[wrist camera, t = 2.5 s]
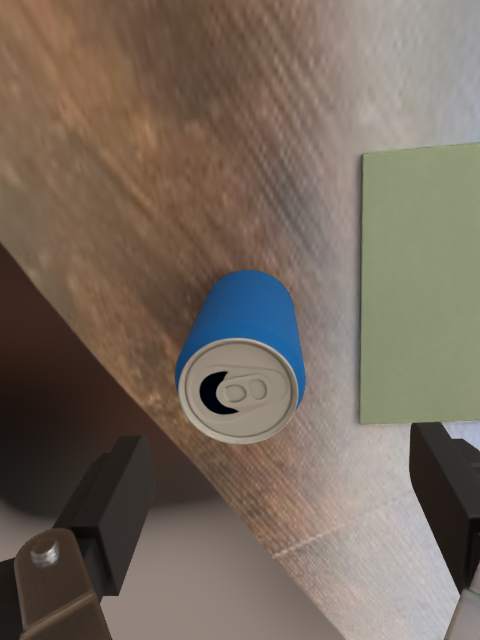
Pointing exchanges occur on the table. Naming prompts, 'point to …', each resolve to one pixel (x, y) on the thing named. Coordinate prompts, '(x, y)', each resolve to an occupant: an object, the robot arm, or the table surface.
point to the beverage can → (242, 361)
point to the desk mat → (420, 285)
